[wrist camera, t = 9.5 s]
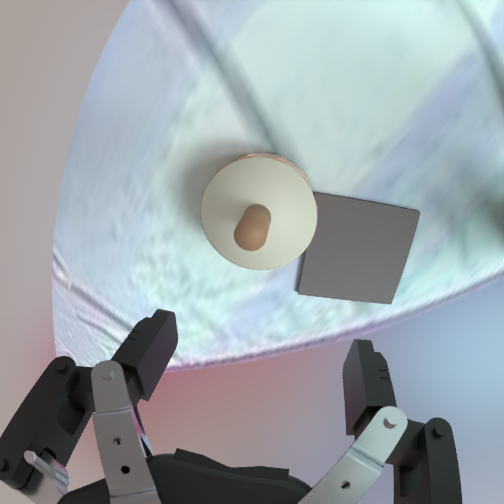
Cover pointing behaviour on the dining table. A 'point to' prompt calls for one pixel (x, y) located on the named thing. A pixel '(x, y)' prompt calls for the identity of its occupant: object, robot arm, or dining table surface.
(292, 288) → the dining table surface
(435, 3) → the dining table surface
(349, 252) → the mat
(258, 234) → the lid
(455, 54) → the dining table surface
